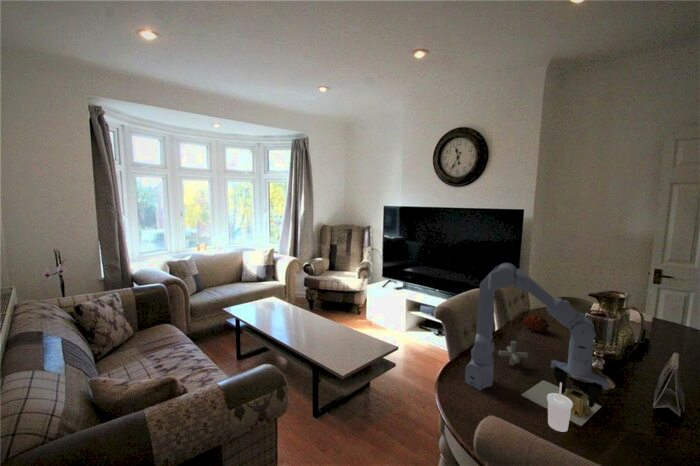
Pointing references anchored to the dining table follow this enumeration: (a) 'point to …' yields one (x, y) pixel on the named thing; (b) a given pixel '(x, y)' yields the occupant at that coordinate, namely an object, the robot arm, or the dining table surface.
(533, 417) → the dining table surface
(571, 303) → the planter bowl
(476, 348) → the robot arm
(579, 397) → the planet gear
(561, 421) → the beverage cup
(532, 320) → the dragon fruit
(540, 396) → the plate
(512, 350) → the pipe connector
